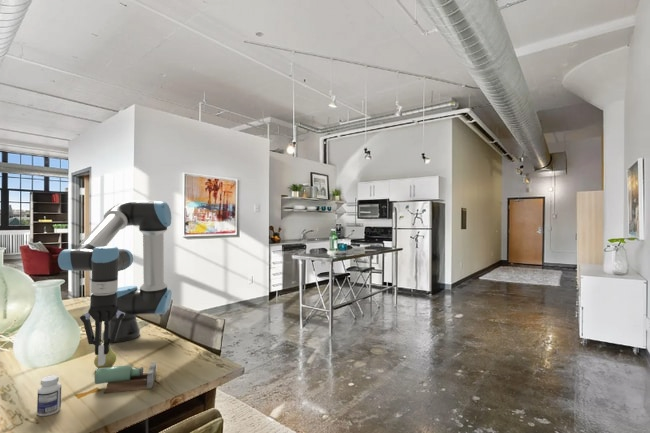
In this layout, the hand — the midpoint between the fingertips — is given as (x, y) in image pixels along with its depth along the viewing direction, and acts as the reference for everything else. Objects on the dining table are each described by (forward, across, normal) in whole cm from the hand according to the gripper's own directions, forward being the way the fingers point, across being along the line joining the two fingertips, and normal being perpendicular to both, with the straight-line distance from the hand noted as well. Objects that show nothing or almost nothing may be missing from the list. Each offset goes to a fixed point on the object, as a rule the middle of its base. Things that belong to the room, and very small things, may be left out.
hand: (101, 363), depth 115 cm
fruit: (+8, -3, +16) cm, 18 cm away
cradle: (+8, +9, 0) cm, 12 cm away
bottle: (+4, -1, 0) cm, 4 cm away
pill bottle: (+8, -10, -12) cm, 18 cm away
